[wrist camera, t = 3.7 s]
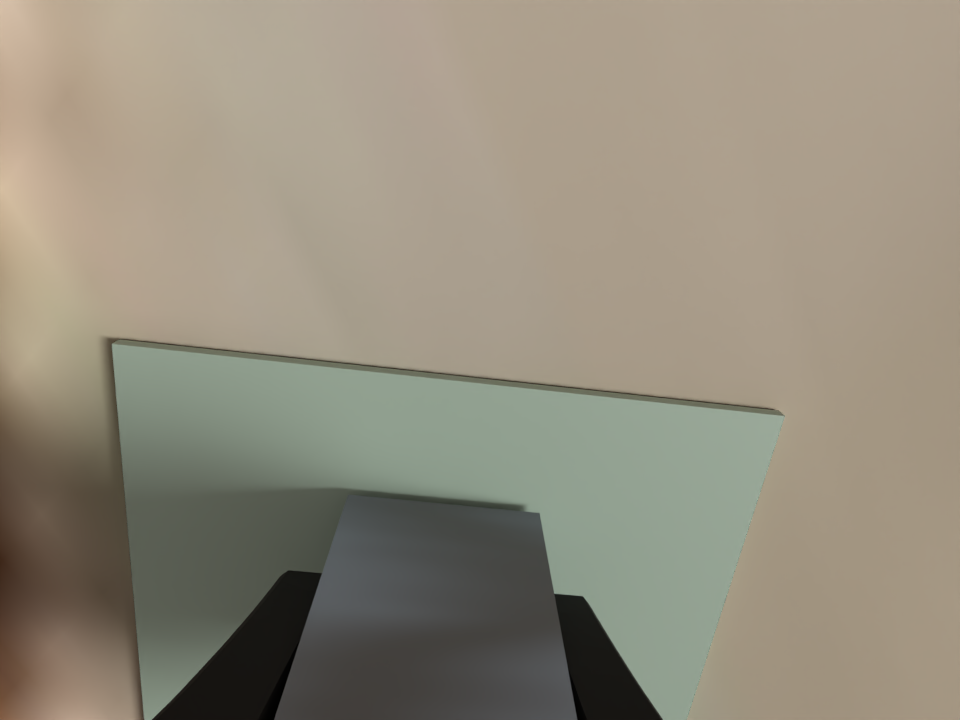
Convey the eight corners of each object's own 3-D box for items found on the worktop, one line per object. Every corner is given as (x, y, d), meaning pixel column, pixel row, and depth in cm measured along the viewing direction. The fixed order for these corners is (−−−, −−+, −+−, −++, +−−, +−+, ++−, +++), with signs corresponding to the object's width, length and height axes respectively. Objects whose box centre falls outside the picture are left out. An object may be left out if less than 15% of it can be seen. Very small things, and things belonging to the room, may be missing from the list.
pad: (778, 410, 10) (784, 416, 10) (652, 806, 13) (655, 816, 13) (118, 338, 9) (111, 343, 9) (154, 771, 12) (149, 782, 12)
